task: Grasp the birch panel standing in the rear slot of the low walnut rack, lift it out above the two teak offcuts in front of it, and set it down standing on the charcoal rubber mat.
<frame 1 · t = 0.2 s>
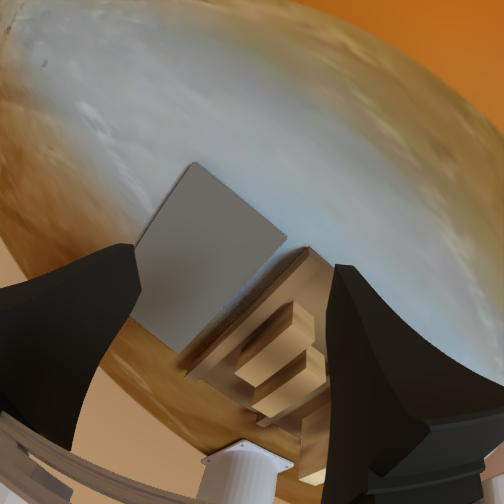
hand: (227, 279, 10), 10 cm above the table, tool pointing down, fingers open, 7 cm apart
walnut rack: (318, 371, 24), on the table
birch panel: (349, 398, 23), point 1 cm above the table, touching walnut rack
teak offcut 2: (289, 369, 23), point 1 cm above the table, touching walnut rack
teak offcut 1: (276, 334, 22), point 1 cm above the table, touching walnut rack
charcoal mat: (184, 269, 22), on the table
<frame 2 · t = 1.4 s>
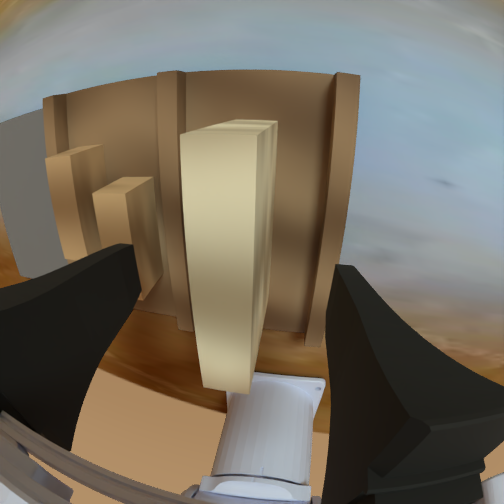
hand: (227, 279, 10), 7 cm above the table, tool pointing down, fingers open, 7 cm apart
walnut rack: (185, 207, 17), on the table
birch panel: (253, 217, 16), point 1 cm above the table, touching walnut rack
teak offcut 2: (143, 226, 17), point 1 cm above the table, touching walnut rack
teak offcut 1: (95, 193, 16), point 1 cm above the table, touching walnut rack
charcoal mat: (28, 203, 18), on the table
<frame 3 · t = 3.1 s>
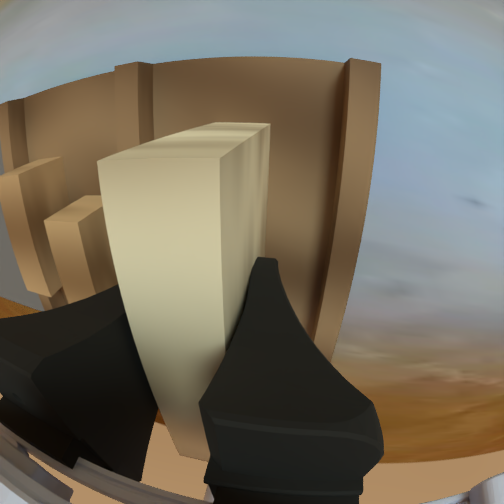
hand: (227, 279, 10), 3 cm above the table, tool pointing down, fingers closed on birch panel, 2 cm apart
walnut rack: (159, 231, 14), on the table
birch panel: (240, 247, 12), point 1 cm above the table, touching gripper, walnut rack
teak offcut 2: (111, 253, 14), point 1 cm above the table, touching walnut rack
teak offcut 1: (58, 213, 13), point 1 cm above the table, touching walnut rack
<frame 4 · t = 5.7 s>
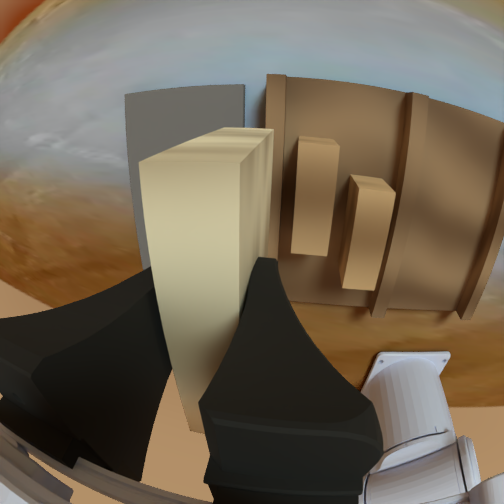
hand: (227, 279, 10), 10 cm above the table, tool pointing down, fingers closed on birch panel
walnut rack: (395, 207, 18), on the table
birch panel: (246, 239, 14), point 6 cm above the table, touching gripper
teak offcut 2: (359, 222, 18), point 1 cm above the table, touching walnut rack
teak offcut 1: (312, 186, 17), point 1 cm above the table, touching walnut rack
charcoal mat: (185, 190, 20), on the table
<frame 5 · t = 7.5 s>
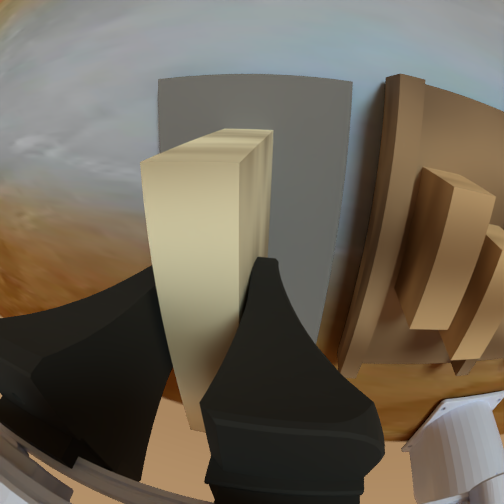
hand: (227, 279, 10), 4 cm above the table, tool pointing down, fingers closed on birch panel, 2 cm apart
walnut rack: (498, 256, 12), on the table
birch panel: (246, 240, 14), resting on charcoal mat, touching gripper
teak offcut 2: (467, 276, 12), point 1 cm above the table, touching walnut rack
teak offcut 1: (428, 234, 12), point 1 cm above the table, touching walnut rack
charcoal mat: (249, 229, 14), on the table
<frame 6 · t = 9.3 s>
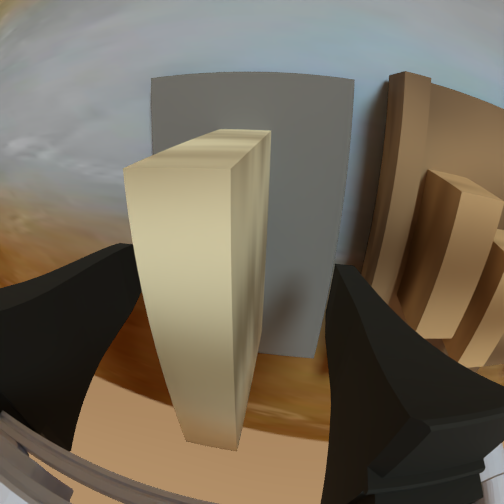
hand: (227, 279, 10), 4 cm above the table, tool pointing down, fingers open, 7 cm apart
walnut rack: (503, 261, 12), on the table
birch panel: (243, 245, 13), resting on charcoal mat
teak offcut 2: (471, 282, 12), point 1 cm above the table, touching walnut rack
teak offcut 1: (432, 239, 11), point 1 cm above the table, touching walnut rack
charcoal mat: (246, 233, 14), on the table
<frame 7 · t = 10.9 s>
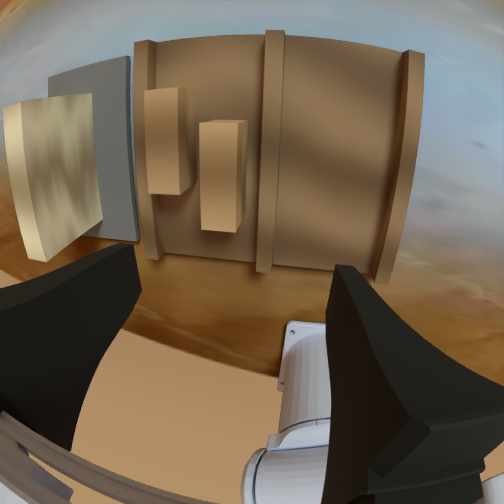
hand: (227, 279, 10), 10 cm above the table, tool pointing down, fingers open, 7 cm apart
walnut rack: (272, 152, 18), on the table
birch panel: (85, 158, 19), resting on charcoal mat
teak offcut 2: (230, 167, 18), point 1 cm above the table, touching walnut rack
teak offcut 1: (181, 135, 18), point 1 cm above the table, touching walnut rack
charcoal mat: (89, 153, 20), on the table
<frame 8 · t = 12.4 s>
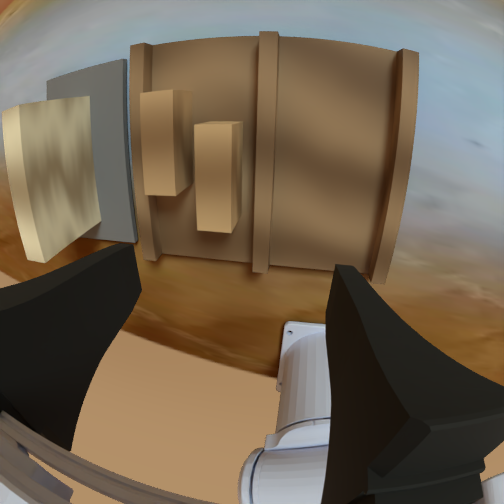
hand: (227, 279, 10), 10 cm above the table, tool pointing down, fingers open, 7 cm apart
walnut rack: (268, 152, 18), on the table
birch panel: (83, 160, 20), resting on charcoal mat
teak offcut 2: (226, 168, 18), point 1 cm above the table, touching walnut rack
teak offcut 1: (177, 137, 18), point 1 cm above the table, touching walnut rack
charcoal mat: (87, 155, 20), on the table
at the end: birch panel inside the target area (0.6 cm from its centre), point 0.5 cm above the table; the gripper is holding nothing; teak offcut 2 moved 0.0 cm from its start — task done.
